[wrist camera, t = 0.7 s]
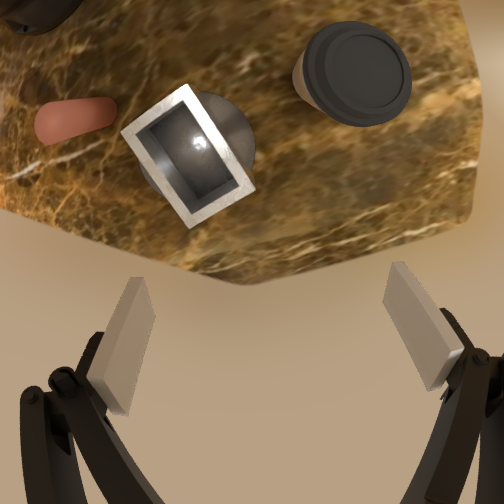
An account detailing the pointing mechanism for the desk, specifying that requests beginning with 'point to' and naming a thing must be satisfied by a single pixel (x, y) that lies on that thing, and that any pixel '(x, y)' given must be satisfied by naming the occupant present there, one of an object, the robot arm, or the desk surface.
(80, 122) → the pin
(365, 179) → the desk surface
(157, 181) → the rosette bracket
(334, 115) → the coffee cup
